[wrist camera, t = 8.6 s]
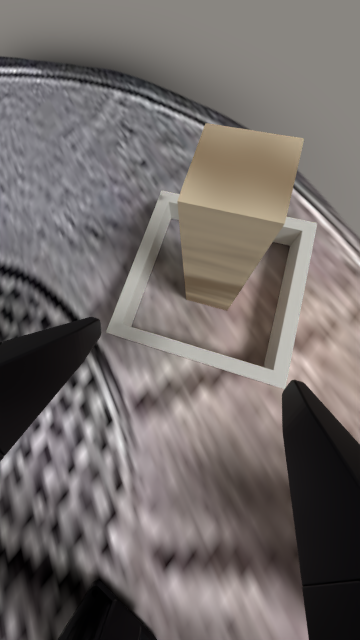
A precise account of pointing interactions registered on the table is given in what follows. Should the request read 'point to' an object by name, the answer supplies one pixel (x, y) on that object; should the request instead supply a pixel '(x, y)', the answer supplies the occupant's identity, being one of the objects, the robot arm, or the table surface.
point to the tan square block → (233, 208)
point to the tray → (272, 373)
